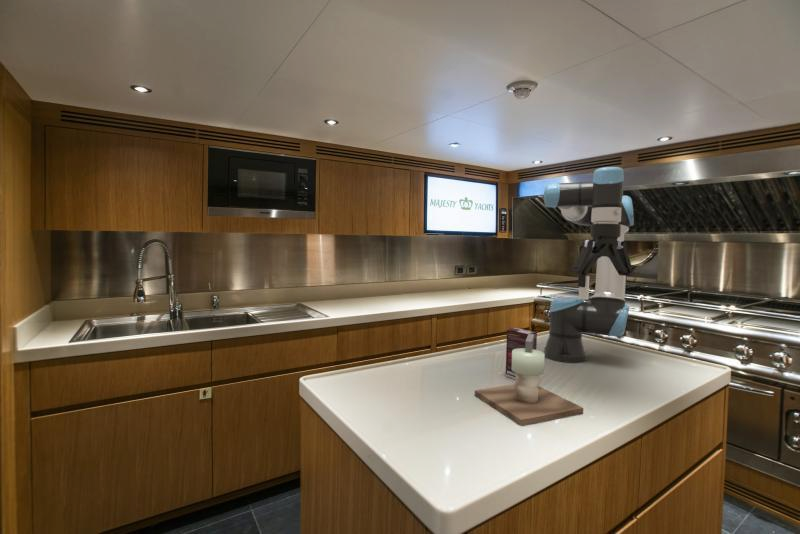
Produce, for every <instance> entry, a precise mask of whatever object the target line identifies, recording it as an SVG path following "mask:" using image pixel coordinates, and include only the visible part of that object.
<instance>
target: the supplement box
mask: <svg viewBox="0 0 800 534" xmlns="http://www.w3.org/2000/svg"><path fill="white" fill-rule="evenodd" d="M528 334H534V345H533V349H534V350H537V342H538V341H537V339H538V338H537V337H538V332H537V331H532V330H529V329H527V330H526V329H523V328H519V327H511V328H507V329H506V346H505V347H506V349H505V350H506V352H505V353H506V354H505V355H506V356H505V359H506V360H505V377H508V378H510V379H513V380H515V381H516V372H514V371H512V369H511V368H512V350H514V349H518V348H525V344H526V339H527V336H528Z"/></svg>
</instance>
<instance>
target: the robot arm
mask: <svg viewBox="0 0 800 534" xmlns="http://www.w3.org/2000/svg"><path fill="white" fill-rule="evenodd" d="M624 180H625V177H624V169H623V168H622V167H619V166H606V167H599V168H597V169H595V170H594V172H593V177H592V181H582V182H581V181H580V182H564V183H563V182H561V183H560V182H559V183H558V182H556V183H548V184H546V185H545V187H544V193H543V203H544V205H545V206H544V207H546V208H553V209H555V208H558V209H559V210H560V212H561V216H562V217H563V218H564V219H565V220H566V221H569V222H571V223H572V224H576V225H580V226H585V227H586V226H587V227H590V237H591V238H592V239H584V240H583V241H582V247H581V250H580V251H579V254H578V255H577V259H576V261H575V263H574V265H573V268H572V273H573V274H574V275H576V276H577V279H578V280H577V287H578V297H576V296H575V297H573V296H572V297H559V298H555V299H553V300H552V301H551V302H550V308H549V309H550V310H549V331H548V332H549V335H548V338H547V340H546V344H545V346H544V348H543V353H544V354H545V358H547V359H549V360H552V361H555V362H556V361H557V362H563V363H572V364H573V363H582V362H583V363H584V362H585V361H586V358H587V357H586V356H587V353H586V351H585V349H584V344H583V343H584V342H583V339H582V336H583V333H585V334H590V335H591V334H592V335H600V336H606V337H607V336H608V337H622V336H624V334H625V331H626V327H627V321H628V316H629V313H630V312H629V310H630V305H628V304H626V299H625V296H626V286H627V281H628V280H627V277H629V276H631V274H633V272H634V269H633V266H632V262H631V260H630V256H629V253H628V250H627V249H628V248H627V241H625V234H626V233H628V232H629V230H630V227H631V226H632V227H633V226H634V225H635V223H634V222H635V218H634V206H633V205H634V204H633V200H632V198H631V196H628V195H624ZM594 265H596V274H595V275H596V276H595V289H594V294H593V295H592V296H590V295H589V293H590V275H588V274H589V273H590V271H591V270H592V268H593V267H594ZM589 296H590V298H589ZM585 300H586V301H585ZM587 300H588V302H587Z"/></svg>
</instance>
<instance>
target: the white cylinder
mask: <svg viewBox="0 0 800 534" xmlns="http://www.w3.org/2000/svg"><path fill="white" fill-rule="evenodd" d="M533 345H534V334H528V336H527V339H526V344H525V348H518V349H514V350H512V368H511V369H512V371H514V372H516V373H518V374H522V375H528V376H539V377H540V376H542V375H543V374H545V358H546V357H545V354H544V351H541V350H538V349H536V350H534V349H533Z"/></svg>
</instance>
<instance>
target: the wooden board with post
mask: <svg viewBox="0 0 800 534" xmlns="http://www.w3.org/2000/svg"><path fill="white" fill-rule="evenodd" d="M539 382H540V375H539V376H528V375H522V374H518V373H516V380H515V383H514V384H509V385H502V386H494V387H488V388H483V389H481V388H480V389H476V390H474V396H475V397H476V398H477V399H479V400H481V401H482V402H484V403H486V404H487V405H488V406H489V407H491V408H493V409H495V410H496V411H498V412H500V413H501V414H502V415H504V416H505V417H507V418H508V419H510V420H511V421H512V422H514V423H517V425H519V426H521V427H523V426H528V425H533V424H537V423H543V422H547V421H552V420H558V419H563V418H567V417H572V416H577V415H583V414H584V407H583V406H581V405H578V404H576V403H575V402H572V401H570V400H568V399H566V398H564V397H562V396H560V395H558V394H556V393H554V392H551V391H549V390H548V389H546V388H543V387H542V386H540V385H539V384H540V383H539Z"/></svg>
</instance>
